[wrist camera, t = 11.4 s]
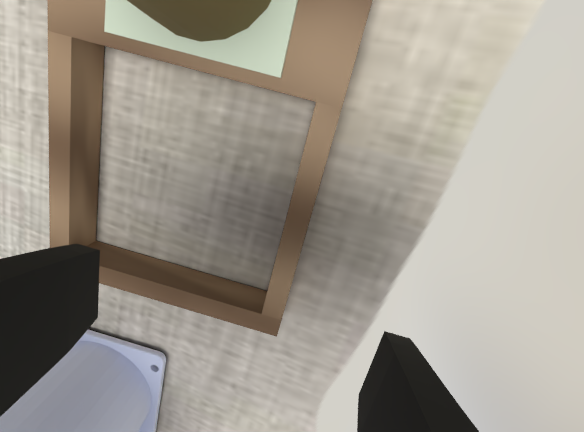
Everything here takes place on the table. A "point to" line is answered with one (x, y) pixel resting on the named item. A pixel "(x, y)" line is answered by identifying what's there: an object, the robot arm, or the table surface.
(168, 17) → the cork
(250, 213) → the table surface
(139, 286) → the well board
